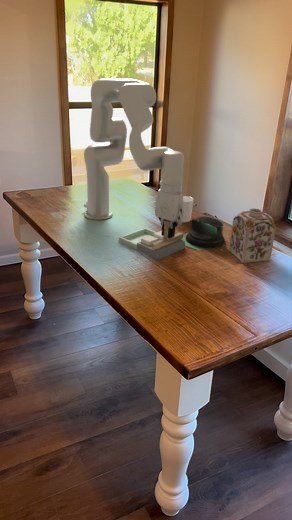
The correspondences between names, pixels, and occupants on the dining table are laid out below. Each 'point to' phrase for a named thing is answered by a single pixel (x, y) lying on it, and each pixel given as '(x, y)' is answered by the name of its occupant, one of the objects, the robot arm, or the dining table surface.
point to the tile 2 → (158, 235)
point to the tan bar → (166, 237)
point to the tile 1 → (149, 240)
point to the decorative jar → (252, 236)
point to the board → (161, 249)
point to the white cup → (187, 208)
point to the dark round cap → (205, 233)
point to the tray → (135, 237)
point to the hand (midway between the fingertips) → (168, 235)
